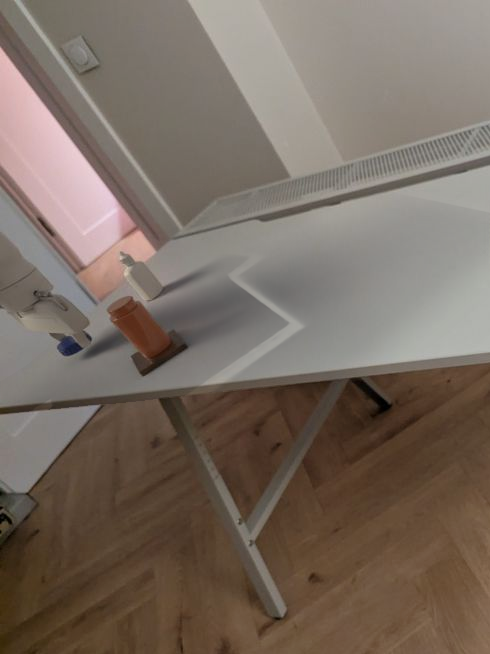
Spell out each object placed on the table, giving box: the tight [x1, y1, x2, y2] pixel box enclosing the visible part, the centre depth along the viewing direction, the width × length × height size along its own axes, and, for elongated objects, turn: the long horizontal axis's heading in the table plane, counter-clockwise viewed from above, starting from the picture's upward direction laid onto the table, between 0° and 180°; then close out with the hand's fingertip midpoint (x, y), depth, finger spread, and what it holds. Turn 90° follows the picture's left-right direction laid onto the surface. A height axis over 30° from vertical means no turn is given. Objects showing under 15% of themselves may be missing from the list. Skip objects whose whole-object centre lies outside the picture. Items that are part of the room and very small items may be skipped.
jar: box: [106, 295, 172, 358], centre depth 99 cm, size 6×6×11 cm
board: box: [130, 328, 188, 377], centre depth 102 cm, size 9×9×1 cm
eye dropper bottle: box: [118, 250, 164, 302], centre depth 124 cm, size 4×6×12 cm
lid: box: [56, 329, 93, 357], centre depth 111 cm, size 6×6×2 cm
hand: (77, 345), depth 112 cm, fingers closed on lid, 6 cm apart
